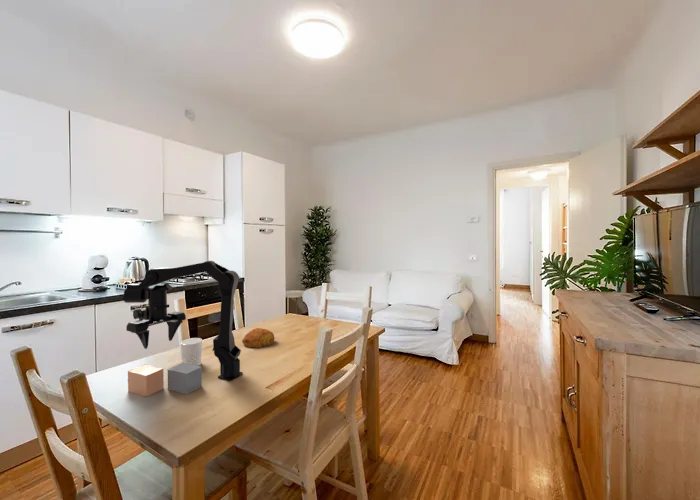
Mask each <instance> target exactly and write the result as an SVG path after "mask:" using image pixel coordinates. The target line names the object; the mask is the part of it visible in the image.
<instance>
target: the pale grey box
mask: <svg viewBox="0 0 700 500" xmlns="http://www.w3.org/2000/svg"><path fill="white" fill-rule="evenodd" d="M202 367H203V366H200V365H199V366H196V365H191V364H187V363H182V362H181V363H179V364H177V365H175V366H172V367H170V368H168V369H167V390H170V391H173V392H176V393H181V394H184V395H189V394H191V393H192V392H195V391H196V390H198V389H199V388H201V387H203V377H202V376H203V368H202Z"/></svg>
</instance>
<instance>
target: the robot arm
mask: <svg viewBox="0 0 700 500" xmlns="http://www.w3.org/2000/svg"><path fill="white" fill-rule="evenodd" d="M202 273H207V274H208V275H209V276H210V277H211V278H212V279H213V280H215V281H216V282H217V284H218V290H219V293H220V295H221V301H220V317H219V318H220V319H219V333H218V335H216V336H215V337H214V338H213V340H212V343H213V344H212V345H213V346H212V347H213V348H212V349H211V351H212V352H213V354H214V356H215V357H216V358H217V359H218V361H219V364H220V365H219V367H220V370H219V371H220V372H219V373H220V375H218V376H217V378H218V379H220V380H226V381H229V382H230V381H233V380H235V379H237V378H238V377H240V376H242V375H243V373H244V372H242V371H241V361H240V360H241V359H240V358H239V356H240V354H241V352H242V350H241V349H240V348H239V347H238V346H237V345H236V344H235V343H236V342H235V335H234V333H233V320H234V319H233V318H234V317H233V316H234V299H235V293H236V291H237V289H238V285H239V280H240V276H239V274H238V273H237V272H236V271H234V270H230V269H229V268H227V267H223V266H222V265H220V264H218V263H217V262H215V261H213V260H207V261H206V260H205V261H204V262H203V261H202V262H200V263H195V264H188V265H183V266H177V267H170V266H169V267H166V266H165V267H163V266H162V267H156V268H150V269H148V270H147V271H146V273H145V275H144V277H143V279H142V280H141V282H140V283H139V284H138V283H129V284H126V288H125V289H124V291H123V294H122V299H123V301H124V303H125V304H134V303H137V304H138V303H141V304H142V303H146V302H148V303H147V305H146V306H145V309H143V310H142V309H141V308H138V309H135V310H133V311H132V316H133V319H134V320H135V321H130V322H128V323H127V324H126V331H127V332H130V333H132V334H135V335H137V337H138V338H139V340H140V342H141V344H142V346H143V348H144V349H145V350H147V349H148V346H149V340H150V330H149V327H151V326H154V325H159V324H162V323H166V324H167V327H168V331H167V332H168V333H167V335H168V341H170V342H171V341H173V338H174V337H175V335H176V332H177V331H178V329H179V327H180V326H181V324H182V323H183V322H184V321H186V320H187V319H186V318H187V317H186V314H185V312H182V311H181V312H180V311H173V312H168V308H170V304H169V303H168V299H167V298H168V296H167V294H168V293H167V291H170V290H172V289H174V287H173V286H172V285H170V284H169V281H172V280H174V279H176V278H181V277H185V276H191V275H197V274H202ZM165 282H167V283H165ZM163 283H164V284H163ZM159 284H162V285H159Z"/></svg>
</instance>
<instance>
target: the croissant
mask: <svg viewBox="0 0 700 500" xmlns="http://www.w3.org/2000/svg"><path fill="white" fill-rule="evenodd" d="M241 341H242V344H243V346H246V347H249V348H259V349H260V348H263V347H266V345H267V346H270V345H272V344H274V342H275V334H274V333H273V332H272V331H270V329H269V330H268V329H267V328H261V327H256V328H253V329H252V330H250V331H249V332H247V333H246V334H245V335H244V336H243V338H242V340H241Z"/></svg>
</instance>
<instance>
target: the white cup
mask: <svg viewBox="0 0 700 500" xmlns="http://www.w3.org/2000/svg"><path fill="white" fill-rule="evenodd" d="M202 352H203V339H202V338H201V337H191V338H186V339H183V340H181V341H180V354H181V355H180V357H181V363H187V364H191V365H196V366H200V365H201V364H202Z"/></svg>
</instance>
